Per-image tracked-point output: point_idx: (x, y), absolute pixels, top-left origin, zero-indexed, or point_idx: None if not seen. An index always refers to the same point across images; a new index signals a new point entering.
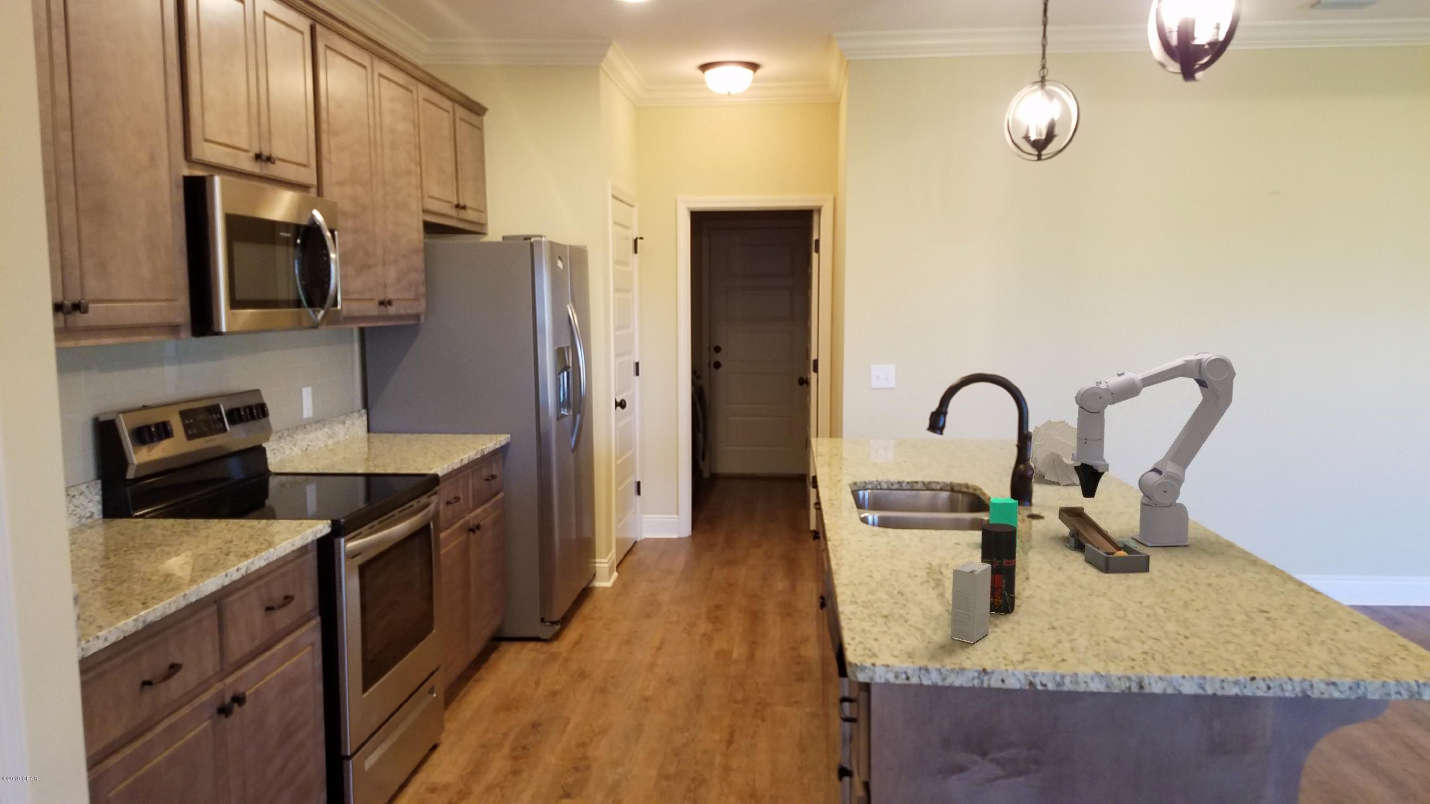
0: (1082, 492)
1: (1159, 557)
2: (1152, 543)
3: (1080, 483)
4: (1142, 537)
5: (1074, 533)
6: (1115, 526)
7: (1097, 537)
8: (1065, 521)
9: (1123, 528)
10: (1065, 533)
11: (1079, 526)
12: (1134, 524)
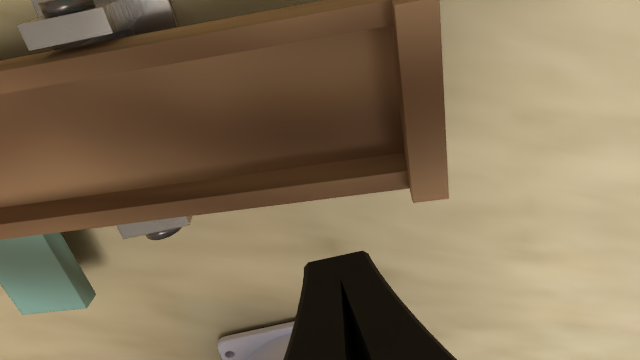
0: (354, 277)
1: (60, 346)
2: (236, 357)
3: (412, 345)
4: (280, 345)
5: (20, 25)
6: (547, 281)
7: (52, 166)
8: (279, 13)
9: (511, 301)
10: (443, 34)
11: (206, 99)
12: (564, 341)
